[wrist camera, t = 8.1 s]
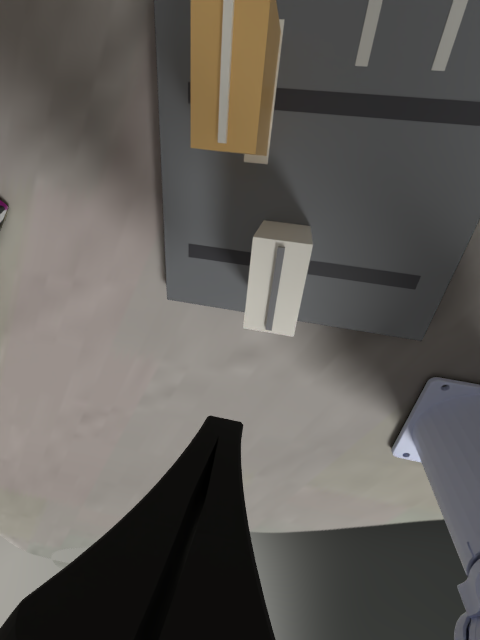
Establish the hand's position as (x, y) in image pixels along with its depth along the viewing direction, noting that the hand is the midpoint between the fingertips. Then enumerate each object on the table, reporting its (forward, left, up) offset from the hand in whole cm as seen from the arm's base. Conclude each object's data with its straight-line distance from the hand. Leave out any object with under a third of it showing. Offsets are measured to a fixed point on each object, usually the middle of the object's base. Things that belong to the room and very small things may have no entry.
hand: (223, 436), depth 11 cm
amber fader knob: (+2, -12, -9) cm, 15 cm away
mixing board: (-2, -9, -10) cm, 13 cm away
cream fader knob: (-1, -4, -9) cm, 10 cm away
